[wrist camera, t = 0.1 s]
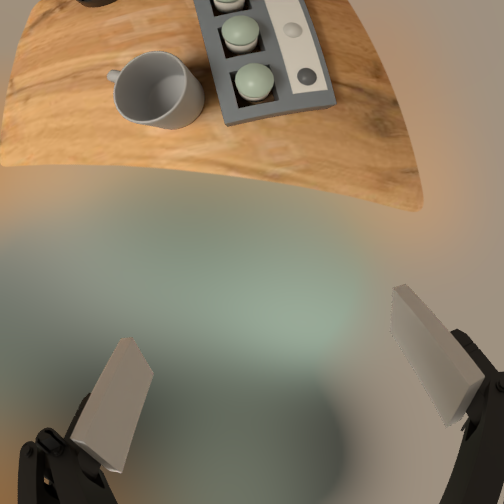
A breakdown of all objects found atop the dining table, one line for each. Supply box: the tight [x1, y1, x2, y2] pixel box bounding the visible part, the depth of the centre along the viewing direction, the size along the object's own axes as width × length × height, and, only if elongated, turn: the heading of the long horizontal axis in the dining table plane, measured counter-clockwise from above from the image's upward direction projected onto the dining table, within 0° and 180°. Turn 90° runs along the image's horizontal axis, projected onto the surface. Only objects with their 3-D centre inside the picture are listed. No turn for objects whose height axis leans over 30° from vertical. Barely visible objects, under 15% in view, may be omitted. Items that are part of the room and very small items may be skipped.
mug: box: [107, 51, 205, 130], centre depth 27 cm, size 12×8×11 cm
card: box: [264, 0, 328, 94], centre depth 25 cm, size 18×4×1 cm, turn 13°
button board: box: [194, 0, 337, 127], centre depth 28 cm, size 22×14×4 cm, turn 13°
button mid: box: [222, 16, 259, 55], centre depth 25 cm, size 4×4×4 cm
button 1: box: [235, 63, 274, 102], centre depth 27 cm, size 4×4×4 cm
